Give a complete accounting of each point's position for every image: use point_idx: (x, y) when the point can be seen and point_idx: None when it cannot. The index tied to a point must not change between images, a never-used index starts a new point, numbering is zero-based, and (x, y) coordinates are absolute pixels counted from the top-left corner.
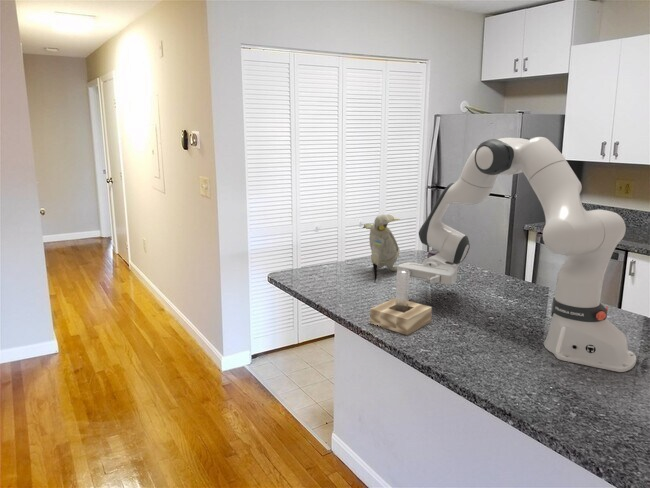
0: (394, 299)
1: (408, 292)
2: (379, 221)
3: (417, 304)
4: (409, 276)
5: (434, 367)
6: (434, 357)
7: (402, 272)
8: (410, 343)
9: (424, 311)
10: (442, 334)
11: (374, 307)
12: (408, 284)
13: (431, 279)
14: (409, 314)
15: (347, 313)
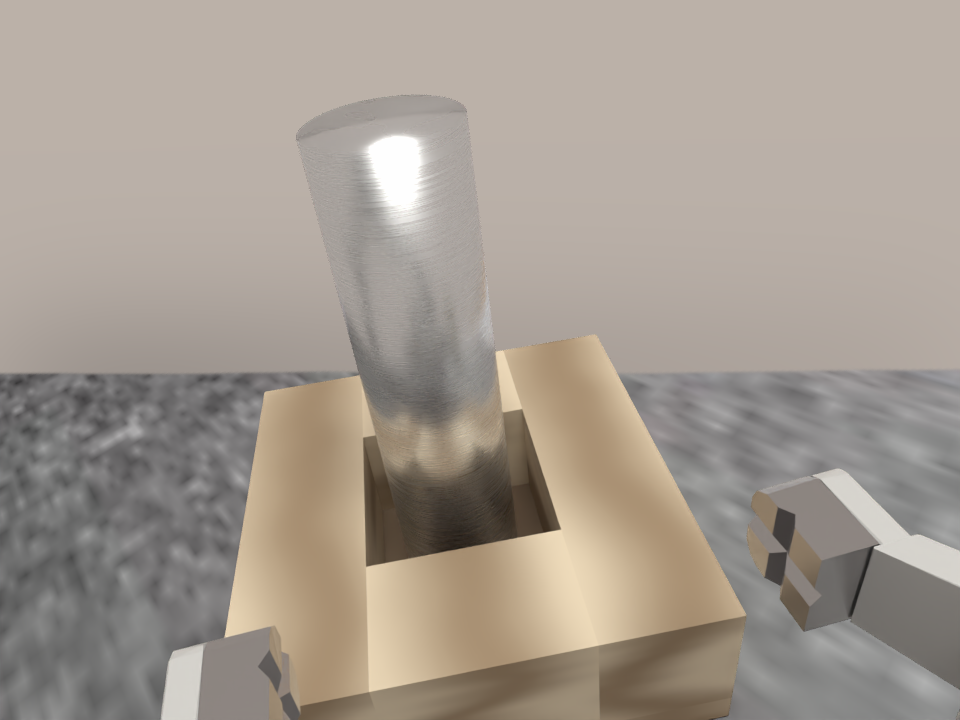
0: (687, 568)
1: (361, 376)
2: None
3: (394, 653)
4: (318, 210)
5: (24, 378)
6: (45, 424)
7: (351, 107)
8: (222, 433)
9: (236, 587)
10: (68, 662)
11: (599, 359)
12: (336, 287)
13: (176, 658)
14: (305, 445)
15: (851, 411)
